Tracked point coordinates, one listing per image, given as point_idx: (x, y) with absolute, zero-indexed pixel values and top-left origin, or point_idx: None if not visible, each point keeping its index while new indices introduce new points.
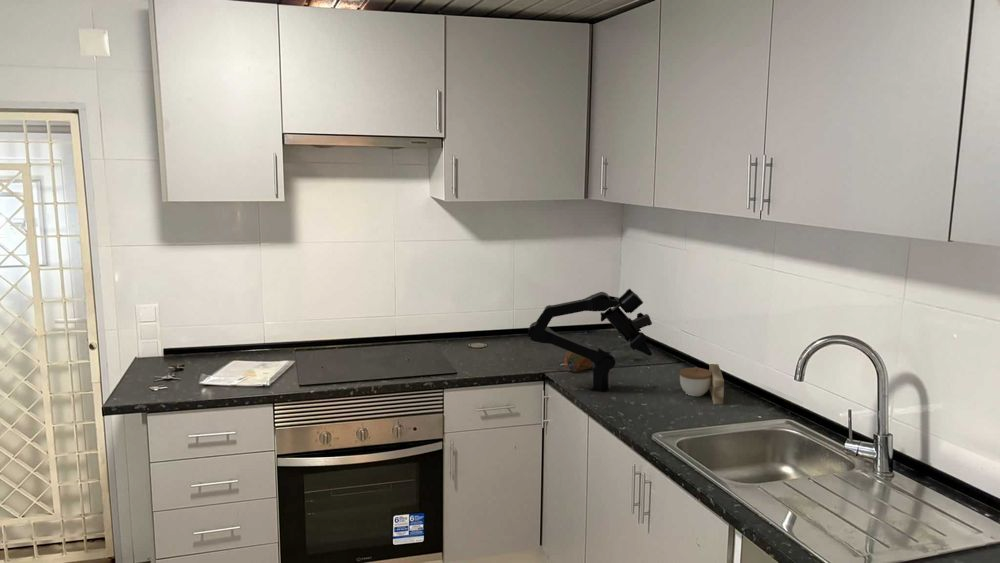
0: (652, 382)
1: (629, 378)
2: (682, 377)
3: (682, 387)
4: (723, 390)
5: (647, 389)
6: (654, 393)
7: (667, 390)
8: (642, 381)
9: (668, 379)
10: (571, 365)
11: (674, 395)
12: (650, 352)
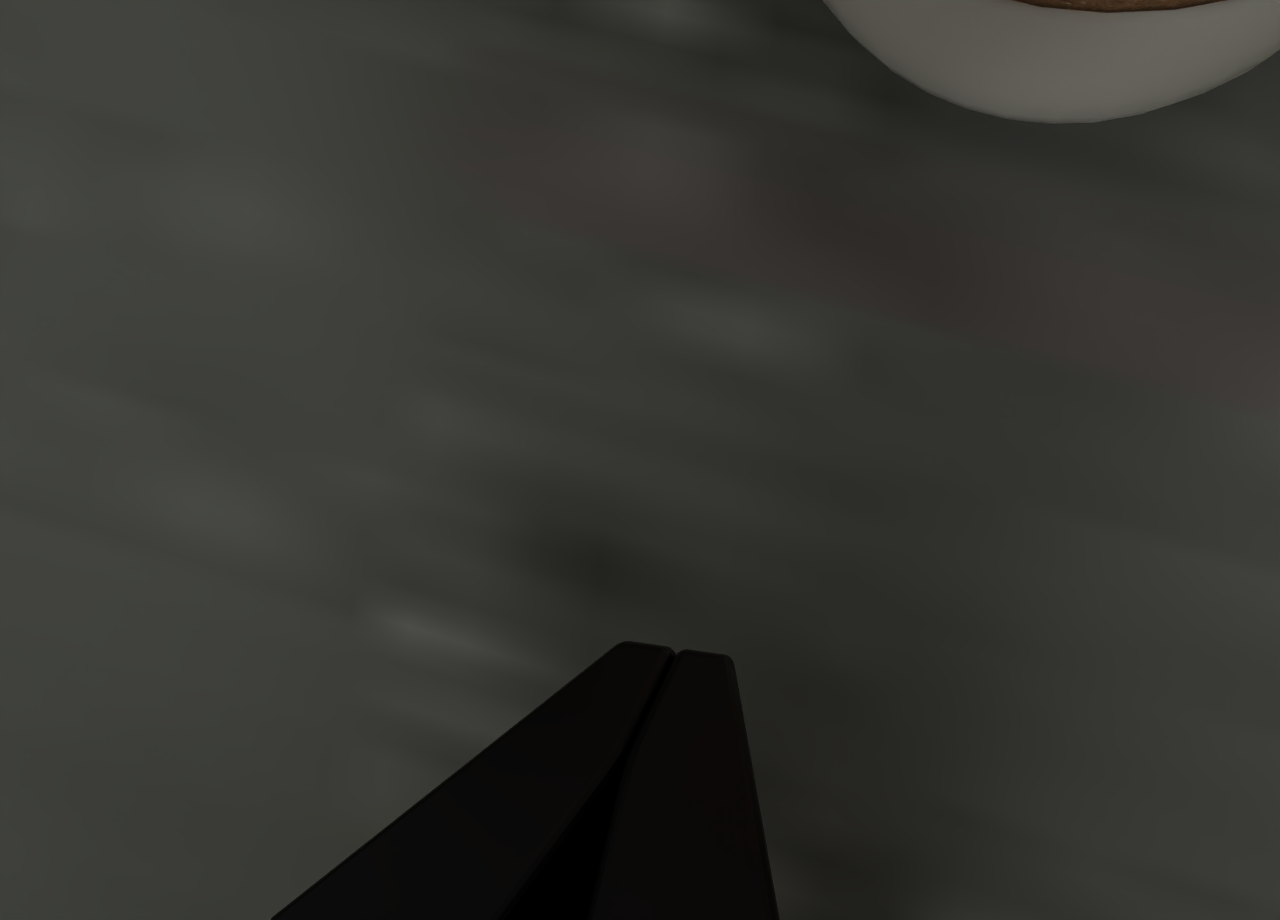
0: (317, 517)
1: (11, 884)
2: (1249, 2)
3: (1121, 115)
4: None
5: None
6: (984, 676)
7: (815, 377)
8: (229, 687)
9: (204, 196)
10: None
11: (1130, 330)
12: (750, 765)
